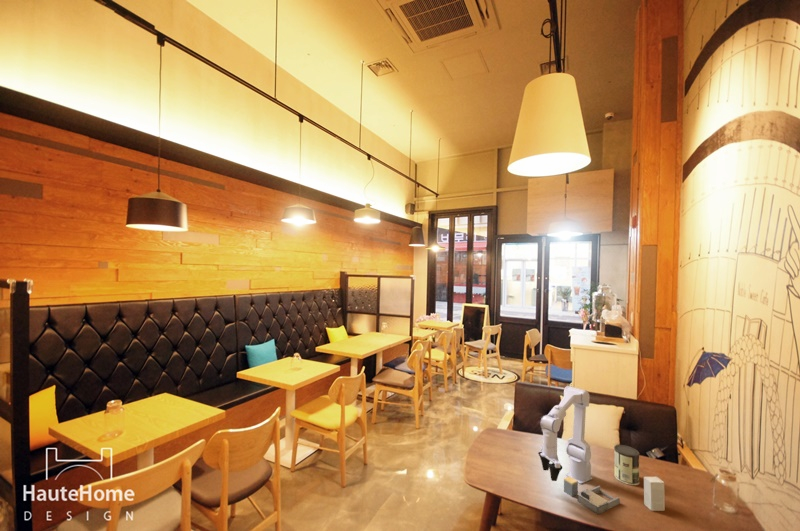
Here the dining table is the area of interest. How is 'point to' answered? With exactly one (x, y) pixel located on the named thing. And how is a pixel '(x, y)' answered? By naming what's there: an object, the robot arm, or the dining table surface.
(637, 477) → the coffee can
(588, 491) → the lid
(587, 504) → the case
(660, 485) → the skincare box
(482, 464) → the dining table surface
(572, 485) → the block
